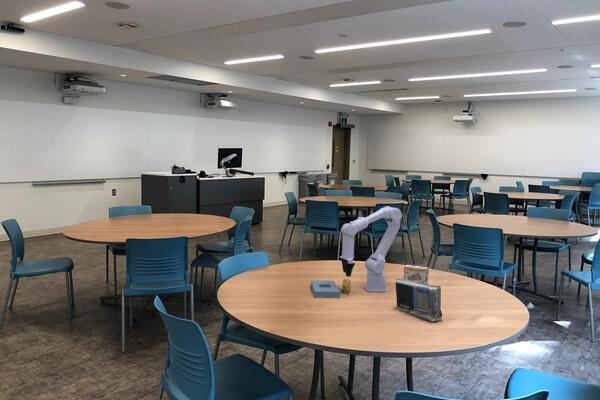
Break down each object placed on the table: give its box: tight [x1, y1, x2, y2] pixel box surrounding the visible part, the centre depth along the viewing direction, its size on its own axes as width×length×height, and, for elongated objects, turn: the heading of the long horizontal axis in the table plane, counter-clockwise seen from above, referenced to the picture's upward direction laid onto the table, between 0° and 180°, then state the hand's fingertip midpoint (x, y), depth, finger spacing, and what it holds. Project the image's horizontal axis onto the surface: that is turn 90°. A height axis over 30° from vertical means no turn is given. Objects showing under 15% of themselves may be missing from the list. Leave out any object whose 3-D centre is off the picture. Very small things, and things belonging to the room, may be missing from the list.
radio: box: [394, 278, 443, 323], centre depth 200 cm, size 23×9×15 cm, turn 29°
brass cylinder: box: [341, 278, 352, 294], centre depth 230 cm, size 4×4×6 cm
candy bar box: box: [403, 264, 430, 285], centre depth 219 cm, size 11×5×16 cm, turn 65°
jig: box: [310, 279, 341, 299], centre depth 229 cm, size 12×20×3 cm, turn 5°
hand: (346, 274), depth 230 cm, fingers open, 7 cm apart
